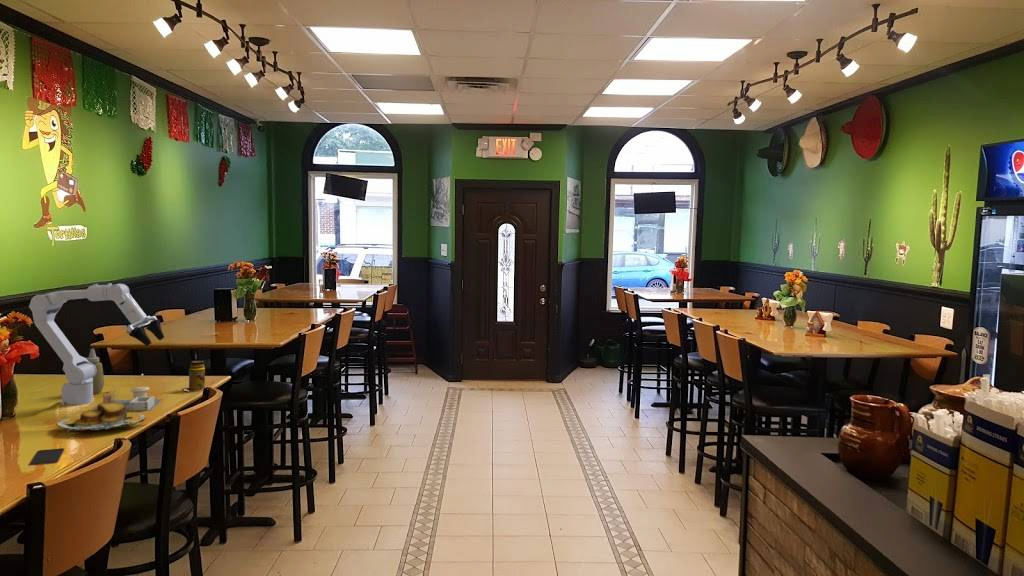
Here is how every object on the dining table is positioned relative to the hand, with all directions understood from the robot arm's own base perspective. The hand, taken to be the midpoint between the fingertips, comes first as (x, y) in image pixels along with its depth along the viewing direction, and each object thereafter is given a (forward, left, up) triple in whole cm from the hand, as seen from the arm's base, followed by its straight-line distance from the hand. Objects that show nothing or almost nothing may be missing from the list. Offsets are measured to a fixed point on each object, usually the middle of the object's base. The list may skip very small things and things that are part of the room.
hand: (155, 341), depth 245 cm
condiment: (+8, +29, -25) cm, 39 cm away
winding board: (-9, -2, -25) cm, 27 cm away
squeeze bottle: (-29, +26, -25) cm, 46 cm away
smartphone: (-15, -55, -26) cm, 62 cm away
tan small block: (-14, -5, -23) cm, 28 cm away
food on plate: (-11, -23, -25) cm, 36 cm away
